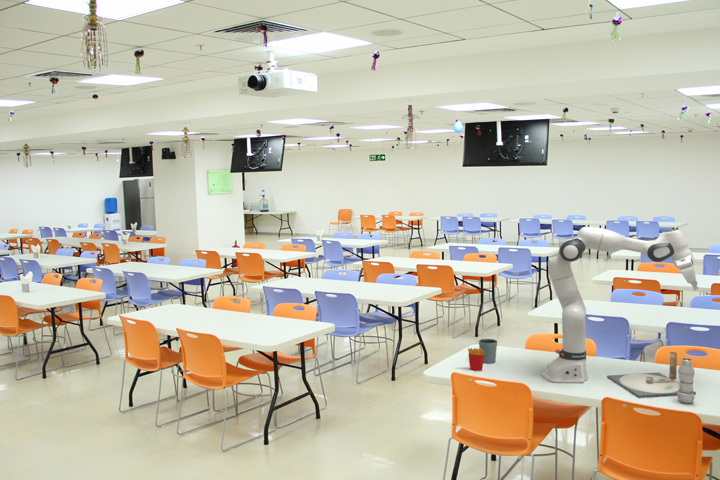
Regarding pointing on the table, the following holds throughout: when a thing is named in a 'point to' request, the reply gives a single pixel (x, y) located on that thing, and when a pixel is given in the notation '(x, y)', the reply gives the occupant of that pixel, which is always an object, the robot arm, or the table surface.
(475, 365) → the french fries
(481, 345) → the grey bucket
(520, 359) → the table surface
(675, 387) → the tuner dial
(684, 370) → the plastic bottle
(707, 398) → the table surface
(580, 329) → the robot arm
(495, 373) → the table surface
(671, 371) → the needle lever
